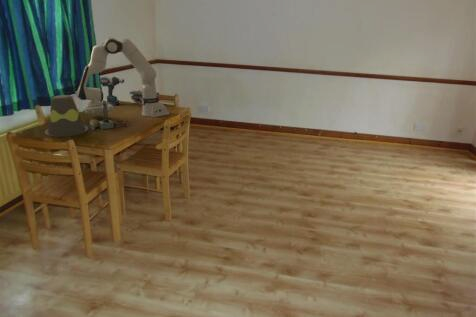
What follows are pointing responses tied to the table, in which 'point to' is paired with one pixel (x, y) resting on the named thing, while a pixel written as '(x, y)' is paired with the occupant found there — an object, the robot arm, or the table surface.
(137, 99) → the dark grey irregular piece
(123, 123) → the rack
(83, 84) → the robot arm
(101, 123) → the socket block
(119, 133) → the table surface
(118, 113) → the table surface
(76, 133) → the banded grey frustum
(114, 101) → the impact wrench
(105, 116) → the drill bit
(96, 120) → the drift key
